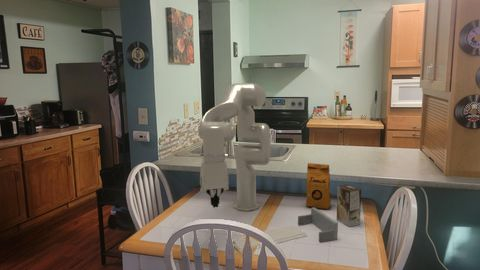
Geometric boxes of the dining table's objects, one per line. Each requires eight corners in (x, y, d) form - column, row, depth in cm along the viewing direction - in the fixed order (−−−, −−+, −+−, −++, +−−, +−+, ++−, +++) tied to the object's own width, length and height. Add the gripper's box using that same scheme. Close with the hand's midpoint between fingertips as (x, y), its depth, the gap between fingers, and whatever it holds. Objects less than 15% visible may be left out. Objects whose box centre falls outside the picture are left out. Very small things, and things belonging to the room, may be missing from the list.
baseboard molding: (309, 238, 147) (292, 228, 158) (309, 232, 147) (292, 221, 158) (241, 256, 134) (227, 243, 144) (241, 248, 133) (227, 236, 144)
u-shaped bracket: (297, 224, 160) (298, 209, 159) (313, 222, 162) (314, 207, 161) (319, 242, 143) (320, 225, 142) (337, 239, 145) (338, 222, 144)
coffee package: (328, 211, 175) (329, 167, 171) (303, 207, 180) (304, 164, 177) (332, 205, 184) (334, 162, 180) (308, 201, 189) (309, 160, 186)
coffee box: (360, 224, 159) (362, 189, 157) (349, 227, 157) (350, 191, 154) (346, 217, 167) (348, 183, 165) (335, 219, 165) (336, 185, 162)
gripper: (230, 154, 139) (231, 200, 142) (191, 157, 134) (193, 205, 137) (236, 158, 132) (237, 207, 135) (196, 162, 127) (197, 212, 130)
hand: (215, 206), depth 136 cm, fingers closed
